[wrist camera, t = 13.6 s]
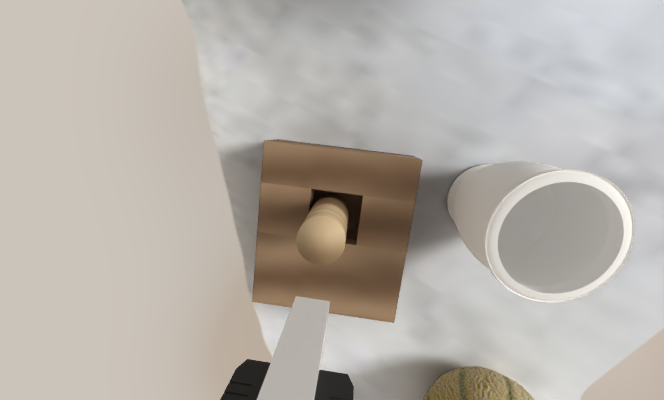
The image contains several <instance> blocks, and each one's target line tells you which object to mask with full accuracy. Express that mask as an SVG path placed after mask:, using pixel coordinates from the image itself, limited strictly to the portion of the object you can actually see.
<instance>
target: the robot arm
mask: <svg viewBox="0 0 664 400" xmlns="http://www.w3.org/2000/svg"><path fill="white" fill-rule="evenodd" d="M329 305H330V301H325V300H318V299H312V298H305V297H298V296H296V297H295V300H294V302H293V305H292V308H291V310H290V313H289V316H288V318H287V321H286V324H285V326H284V329H283V332H282V334H281V337H280V340H279V342H278V345H277V347H276V350H275V353H274V355H273V358H272V361H271V363H268V362H262V361H255V360H249V359H247V360H246V361H245V362H244V363H243V364H241V365H240V366H239V367H238V368H237V369H236V370H235V372H234V374H233V376H232V378H231V380H230V383H229V384H228V386H227V388H226V390H225V392H224V394H223V396H222V397H221V400H353V385H352V382H351V380H350V378H349V376H348V374H343V373H337V372H330V371H324V370H321V365H322V358H323V351H324V343H325V336H326V328H327V320H328V312H329Z"/></svg>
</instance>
